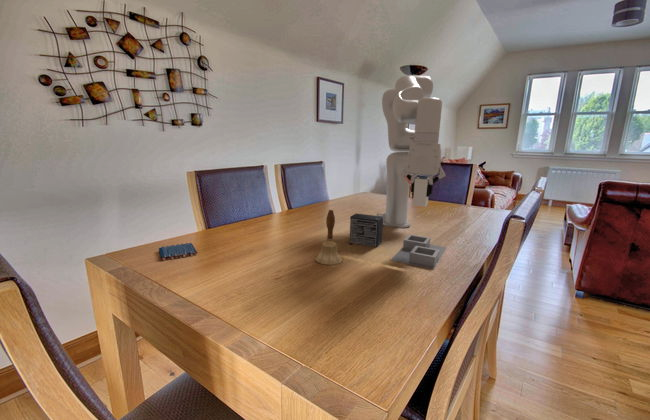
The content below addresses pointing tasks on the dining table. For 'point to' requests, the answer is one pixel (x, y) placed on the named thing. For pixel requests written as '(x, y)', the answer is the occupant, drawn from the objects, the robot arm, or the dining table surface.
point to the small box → (366, 229)
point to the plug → (420, 191)
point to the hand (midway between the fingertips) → (421, 194)
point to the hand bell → (329, 245)
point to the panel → (419, 252)
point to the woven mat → (177, 251)
